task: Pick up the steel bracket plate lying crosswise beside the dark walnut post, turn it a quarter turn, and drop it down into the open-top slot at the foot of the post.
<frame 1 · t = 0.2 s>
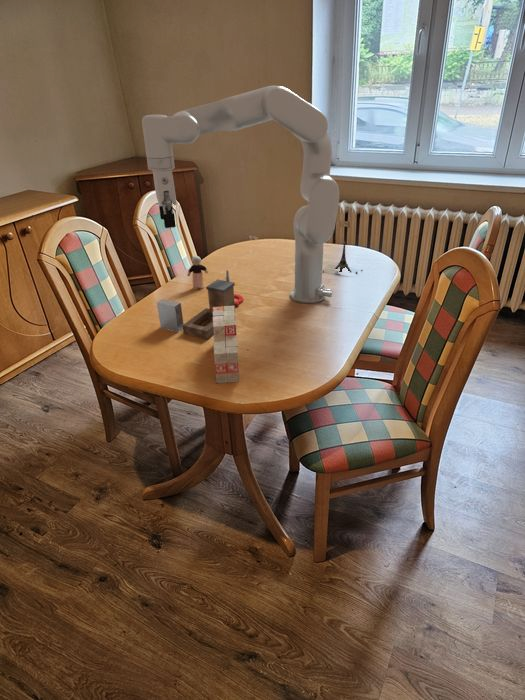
hand: (168, 223, 140), 31 cm above the table, tool pointing down, fingers open, 9 cm apart
steel bracket: (172, 328, 146), on the table
grandmother figurine: (199, 288, 173), on the table
stack of blocks: (227, 361, 129), on the table
eiffel tower figurine: (341, 272, 184), on the table
post socket: (207, 327, 146), on the table
tow hook: (231, 302, 162), on the table
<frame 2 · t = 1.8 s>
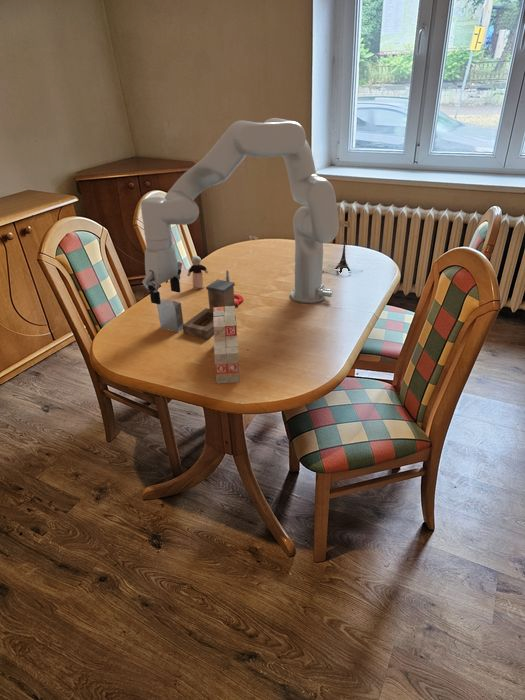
hand: (166, 297, 141), 11 cm above the table, tool pointing down, fingers open, 9 cm apart
nothing on the table moved.
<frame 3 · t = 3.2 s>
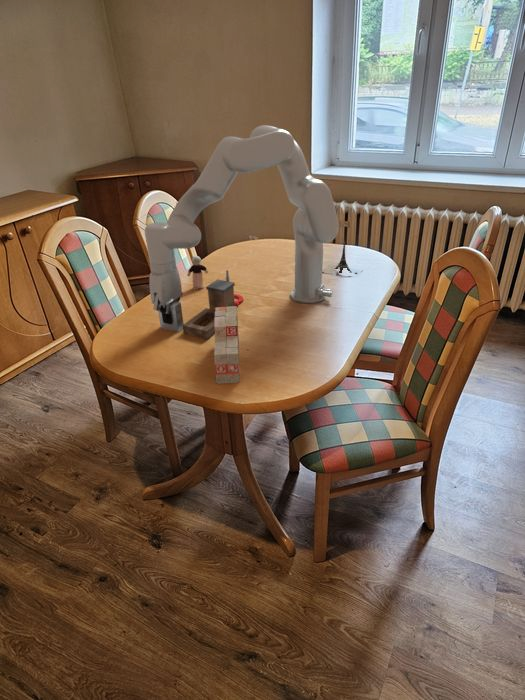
hand: (171, 320, 145), 3 cm above the table, tool pointing down, fingers closed on steel bracket, 3 cm apart
steel bracket: (172, 327, 146), on the table, touching gripper
everything else where it was.
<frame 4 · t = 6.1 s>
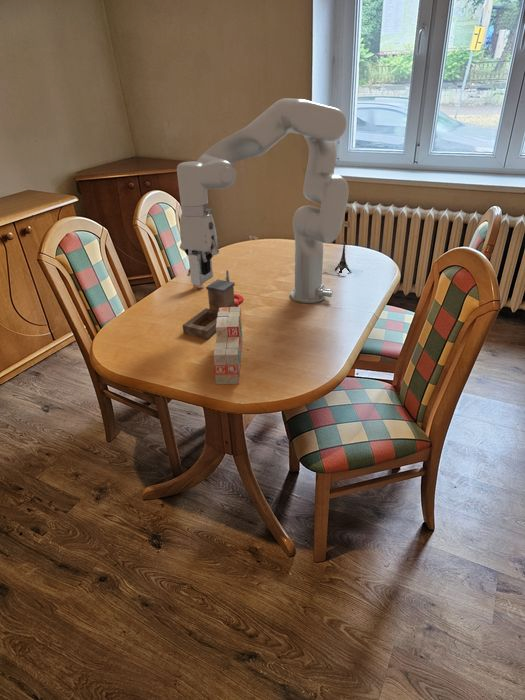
hand: (201, 271, 136), 19 cm above the table, tool pointing down, fingers closed on steel bracket, 3 cm apart
steel bracket: (202, 280, 138), point 16 cm above the table, touching gripper
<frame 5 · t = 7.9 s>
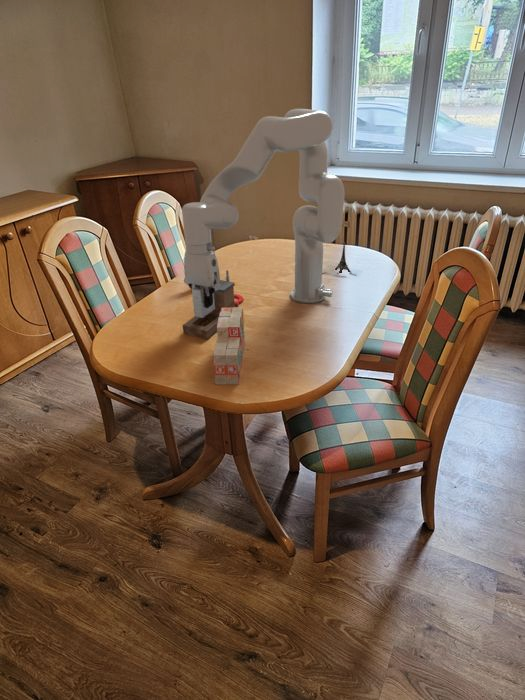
hand: (204, 304, 142), 8 cm above the table, tool pointing down, fingers closed on steel bracket, 3 cm apart
steel bracket: (204, 312, 143), point 5 cm above the table, touching gripper
when the fingers open (5 cm above the table, at t = 9.3 s): steel bracket drops 2 cm, resting in post socket.
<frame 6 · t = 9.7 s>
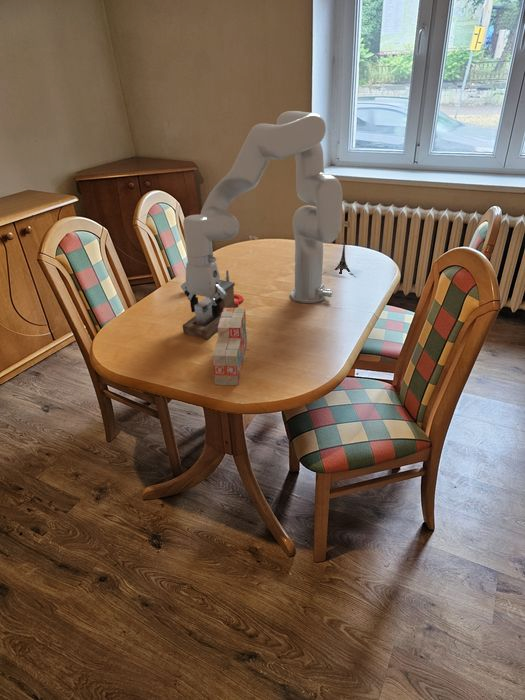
hand: (205, 312, 143), 5 cm above the table, tool pointing down, fingers open, 7 cm apart
steel bracket: (207, 327, 146), resting in post socket
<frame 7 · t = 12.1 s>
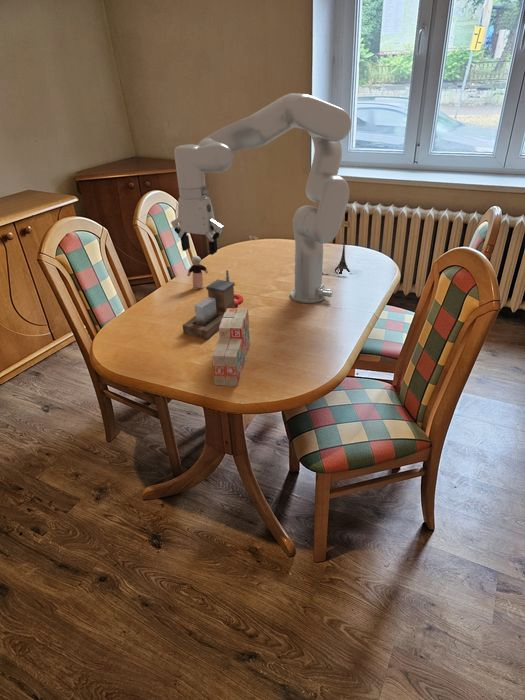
hand: (199, 251, 138), 24 cm above the table, tool pointing down, fingers open, 9 cm apart
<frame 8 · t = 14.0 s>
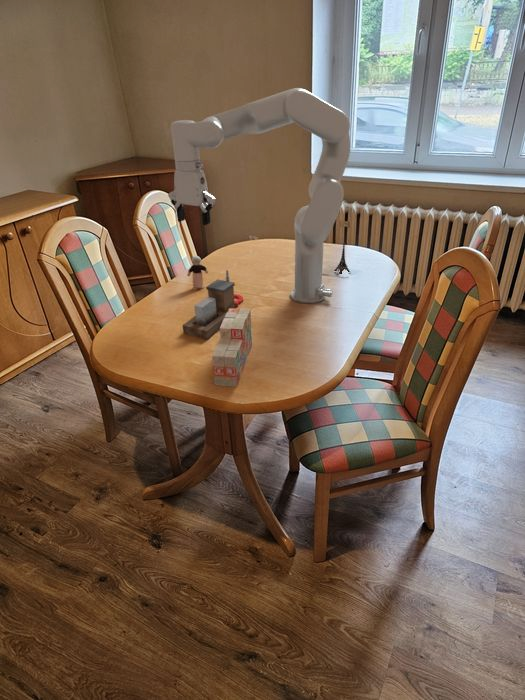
hand: (194, 222, 147), 28 cm above the table, tool pointing down, fingers open, 9 cm apart
at the end: steel bracket 0.1 cm off-centre on the post socket, point 0.0 cm above the post socket's base; steel bracket tilted 0°; the gripper is holding nothing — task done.
